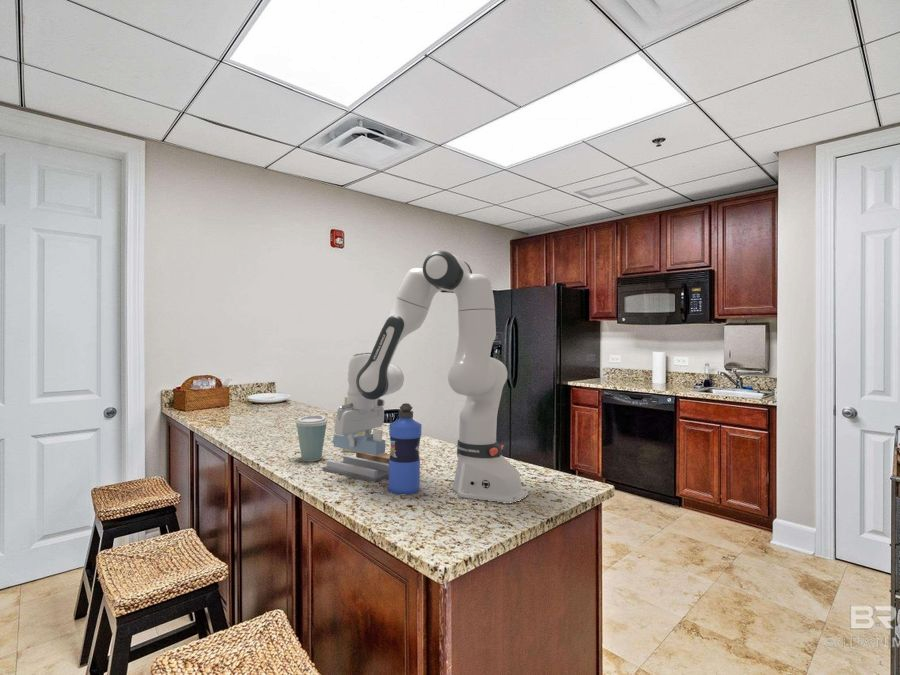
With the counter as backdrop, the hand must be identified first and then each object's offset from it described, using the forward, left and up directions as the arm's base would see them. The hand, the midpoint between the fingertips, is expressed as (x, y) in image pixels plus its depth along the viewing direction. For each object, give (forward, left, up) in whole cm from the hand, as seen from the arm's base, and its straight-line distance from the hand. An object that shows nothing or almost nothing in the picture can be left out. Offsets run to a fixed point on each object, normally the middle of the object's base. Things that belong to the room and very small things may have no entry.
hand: (359, 444), depth 153 cm
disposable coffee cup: (+24, -2, -9) cm, 25 cm away
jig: (0, 0, -9) cm, 9 cm away
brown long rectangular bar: (+1, -14, -9) cm, 16 cm away
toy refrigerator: (+21, -22, -9) cm, 31 cm away
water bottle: (-22, +5, -9) cm, 25 cm away
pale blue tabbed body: (0, 0, -2) cm, 2 cm away
